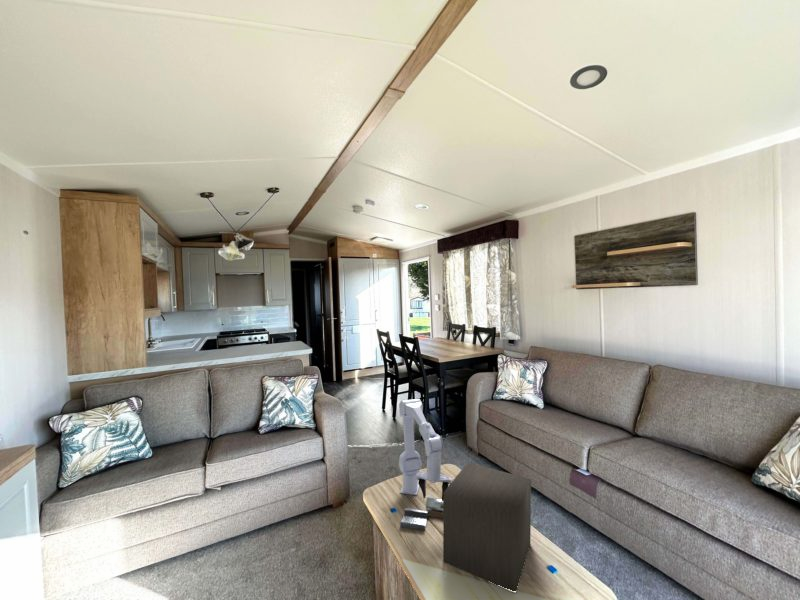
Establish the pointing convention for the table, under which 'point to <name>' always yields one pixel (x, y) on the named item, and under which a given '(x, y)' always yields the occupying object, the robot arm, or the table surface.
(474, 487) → the wood block
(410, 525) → the cradle
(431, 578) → the table surface
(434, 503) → the grey metal cylinder
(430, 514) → the brown piece
